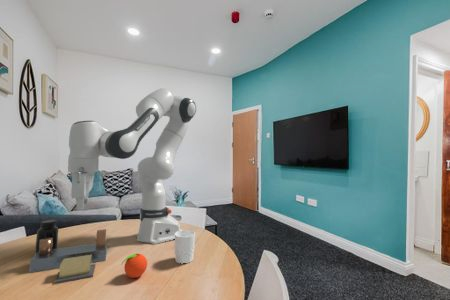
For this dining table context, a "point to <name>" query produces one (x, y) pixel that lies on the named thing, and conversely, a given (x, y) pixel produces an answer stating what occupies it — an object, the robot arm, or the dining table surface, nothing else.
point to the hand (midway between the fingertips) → (82, 206)
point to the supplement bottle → (47, 233)
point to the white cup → (184, 246)
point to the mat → (75, 276)
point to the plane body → (67, 253)
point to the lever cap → (75, 266)
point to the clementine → (135, 265)
